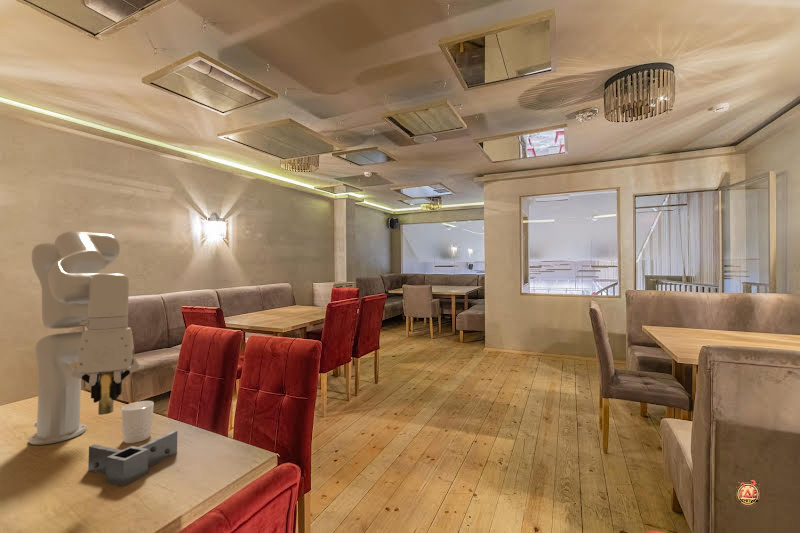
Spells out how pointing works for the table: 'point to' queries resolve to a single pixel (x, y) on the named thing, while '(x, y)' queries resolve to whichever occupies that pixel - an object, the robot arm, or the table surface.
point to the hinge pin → (105, 393)
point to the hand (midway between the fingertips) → (106, 398)
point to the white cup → (137, 421)
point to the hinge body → (130, 459)
